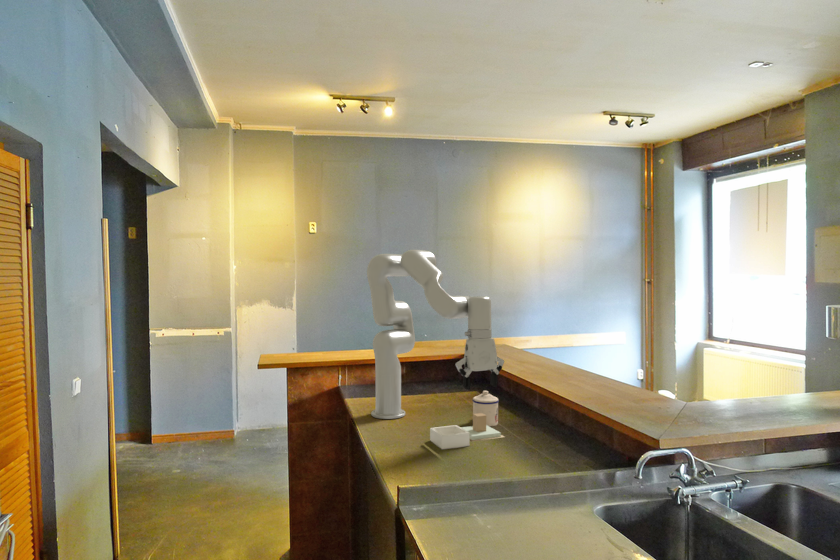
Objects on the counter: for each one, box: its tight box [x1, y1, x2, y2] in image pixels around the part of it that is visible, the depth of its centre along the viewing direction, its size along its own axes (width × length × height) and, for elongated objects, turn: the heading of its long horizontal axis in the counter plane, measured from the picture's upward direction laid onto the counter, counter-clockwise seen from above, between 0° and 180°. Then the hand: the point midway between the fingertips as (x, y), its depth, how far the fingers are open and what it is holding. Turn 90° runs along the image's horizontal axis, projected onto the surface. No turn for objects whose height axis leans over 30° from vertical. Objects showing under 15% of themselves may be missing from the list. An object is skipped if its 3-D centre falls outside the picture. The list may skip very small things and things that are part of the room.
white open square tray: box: [429, 424, 470, 450], centre depth 157 cm, size 9×9×4 cm
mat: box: [469, 434, 505, 442], centre depth 166 cm, size 12×12×1 cm
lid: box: [461, 413, 502, 440], centre depth 166 cm, size 10×10×6 cm
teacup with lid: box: [472, 390, 499, 427], centre depth 181 cm, size 12×9×12 cm
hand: (480, 387), depth 166 cm, fingers open, 9 cm apart
